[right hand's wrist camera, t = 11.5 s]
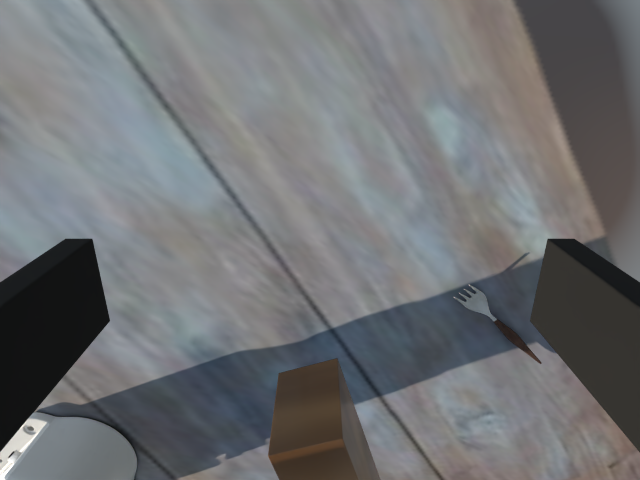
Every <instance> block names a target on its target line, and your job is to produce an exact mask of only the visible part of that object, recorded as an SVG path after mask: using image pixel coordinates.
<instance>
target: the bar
mask: <svg viewBox="0 0 640 480" xmlns="http://www.w3.org/2000/svg"><path fill="white" fill-rule="evenodd" d="M268 457H269V459H270V461H271V463H272V465H273V467H274V469H275V472H276V474H277V476H278V478H279V480H380V477H379V474H378V471H377V469H376V466H375V463H374V460H373V457H372V455H371V452H370V449H369V446H368V443H367V440H366V438H365V435H364V432H363V429H362V426H361V424H360V421H359V418H358V415H357V412H356V410H355V407H354V404H353V401H352V398H351V395H350V393H349V390H348V387H347V384H346V381H345V379H344V376H343V373H342V370H341V367H340V364H339V362H338V359H337V358H336V359H332V360H329V361H325V362H321V363H317V364H313V365H309V366H305V367H301V368H297V369H293V370H289V371H286V372H282V373H279V375H278V383H277V391H276V399H275V406H274V414H273V422H272V430H271V437H270V445H269V453H268Z"/></svg>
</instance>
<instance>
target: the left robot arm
mask: <svg viewBox="0 0 640 480" xmlns="http://www.w3.org/2000/svg"><path fill="white" fill-rule="evenodd" d="M136 469H137V457H136V454H135V451H134V449H133V447H132V446H131V444H130V443H129V442H128V440H127V439H126V438H125V437H124V436H123V435H121V434H120V433H119V432H118V431H116V430H115V429H113V428H112V427H110V426H108V425H106V424H104V423H101V422H98V421H95V420H92V419H88V418H82V417H55V416H52V415H48V414H44V413H39V412H34V413H32V415H31V416H30V417H29V418H28V419H27V421H26V422H25V423H24V424H23V425H22V427H21V428H20V429H19V430H18V431H17V433H16V434H15V435H14V436H13V437H12V439H11V440H10V441H9V442H8V443H7V445H6V446H5V447H4V448H3V449H2V451H1V452H0V480H134V477H135V473H136Z"/></svg>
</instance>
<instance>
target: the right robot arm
mask: <svg viewBox="0 0 640 480" xmlns="http://www.w3.org/2000/svg"><path fill="white" fill-rule="evenodd" d="M109 321H110V319H109V314H108V310H107V305H106V300H105V296H104V291H103V286H102V282H101V277H100V272H99V268H98V263H97V258H96V254H95V249H94V244H93V240H92V239H65V240H63V241H62V242H60V243H59V244H57V245H56V246H54V247H53V248H51V249H50V250H48V251H47V252H45V253H44V254H42V255H41V256H39V257H38V258H36V259H35V260H33V261H32V262H30V263H29V264H27V265H26V266H24V267H23V268H21V269H20V270H18V271H17V272H15V273H14V274H12V275H11V276H9V277H8V278H6V279H5V280H3V281H2V282H0V452H1V451H2V449H3V448H4V447H5V446H6V445H7V443H8V442H9V441H10V440H11V439H12V437H13V436H14V435H15V434H16V433H17V431H18V430H19V429H20V428H21V427H22V425H23V424H24V423H25V422H26V421H27V419H28V418H29V417H30V416H31V415H32V413H33V412H34V411H35V410H36V409H37V408H38V406H39V405H40V404H41V403H42V402H43V400H44V399H45V398H46V397H47V396H48V394H49V393H50V392H51V391H52V390H53V388H54V387H55V386H56V385H57V384H58V382H59V381H60V380H61V379H62V378H63V376H64V375H65V374H66V373H67V372H68V370H69V369H70V368H71V367H72V366H73V364H74V363H75V362H76V361H77V360H78V358H79V357H80V356H81V355H82V354H83V352H84V351H85V350H86V349H87V348H88V346H89V345H90V344H91V343H92V342H93V340H94V339H95V338H96V337H97V336H98V334H99V333H100V332H101V331H102V330H103V328H104V327H105V326H106V325H107V324H108V323H109ZM530 321H531V323H532V324H533V325H534V326H535V327H536V328H537V330H538V331H539V332H540V333H541V334H542V336H543V337H544V338H545V339H546V340H547V342H548V343H549V344H550V345H551V346H552V348H553V349H554V350H555V351H556V352H557V354H558V355H559V356H560V357H561V358H562V360H563V361H564V362H565V363H566V364H567V366H568V367H569V368H570V369H571V370H572V372H573V373H574V374H575V375H576V376H577V378H578V379H579V380H580V381H581V382H582V384H583V385H584V386H585V387H586V388H587V390H588V391H589V392H590V393H591V394H592V396H593V397H594V398H595V399H596V400H597V402H598V403H599V404H600V405H601V406H602V408H603V409H604V410H605V411H606V412H607V413H608V415H609V416H610V417H611V418H612V419H613V421H614V422H615V423H616V424H617V425H618V427H619V428H620V429H621V430H622V431H623V433H624V434H625V435H626V436H627V437H628V439H629V440H630V441H631V442H632V443H633V445H634V446H635V447H636V448H637V449H638V451H639V452H640V282H638V281H637V280H635V279H634V278H632V277H631V276H629V275H628V274H626V273H625V272H623V271H622V270H620V269H619V268H617V267H616V266H614V265H613V264H611V263H610V262H608V261H607V260H605V259H604V258H602V257H601V256H599V255H598V254H596V253H595V252H593V251H592V250H590V249H589V248H587V247H586V246H584V245H583V244H581V243H580V242H578V241H577V240H575V239H548V240H547V244H546V249H545V254H544V258H543V263H542V268H541V272H540V277H539V282H538V286H537V291H536V296H535V300H534V305H533V310H532V314H531V319H530Z"/></svg>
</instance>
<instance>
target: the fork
mask: <svg viewBox="0 0 640 480" xmlns="http://www.w3.org/2000/svg"><path fill="white" fill-rule="evenodd" d="M469 286H470V287H471V288H472V289H474V290H475V291H476V294H474V293H472V292H470V291H468V290H466V289H464V290H465V291H466V292H468V293H469V294H470V295H471V298H469V297H467V296H465V295H463V294H461V293H459V294H460V295H462V296H463V297H464V298H465V299H466V300H467V301H466V302H464V301H462V300H460V299H458V298H456V297H454V298H455V299H457V300H458V301H459V302H460V303H462V304H463V305H464V306H465V307H466V308H467V309H469V310H472V311H475V312H478V313H482V314H485V315H487V316H489V317H490V318H491V319H492V320H493V322H494V323H495V324H496V325H497V326H498V328H499V329H500V330H501V331H502V333H503V334H504V335H505V336H506V337H507V338H508V339H509V340H510V341H511V342H512V343H513V344H515V345H516V346H517V347H519V348H520V349H521V350H523V351H524V352H526V353H527V354H528V355H529V356H531V357H532V358H533V359H535V360H536V361H537V362H538V363H540V364H541V362H540V360H539V359H538V358H537V357H536V356H535V355H534V354H533V352H532V351H531V350H530V349H529V348H528V347H527V345H526V344H525V343H524V342H523V340H522V339H521V338H520V337H519V336H518V335H517V334H516V333H515V332H514V331H513V330H511V329H510V328H509V327H507V326H506V325H505V324H503V323H502V322H501V321H499V320H498V319H496V318H495V317H494V316H493V315H492V314H491V313H490V310H489V306H488V302H487V298H486V296H485V294H484V293H483V292H481V291H480V290H478V289H477V288H475V287H473V286H471V285H470V284H469Z"/></svg>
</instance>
